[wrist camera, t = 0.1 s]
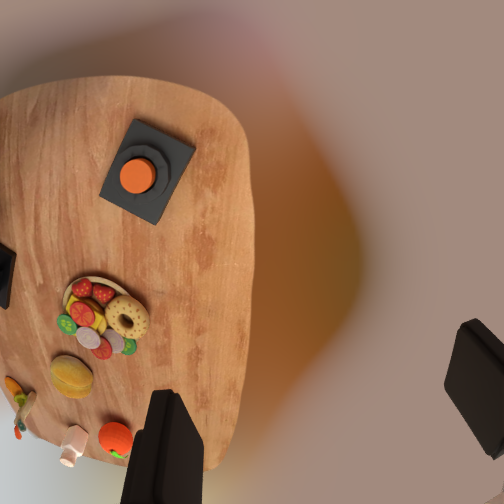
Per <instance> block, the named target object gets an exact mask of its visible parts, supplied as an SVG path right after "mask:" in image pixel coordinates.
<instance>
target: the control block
mask: <svg viewBox="0 0 504 504" xmlns="http://www.w3.org/2000/svg"><path fill="white" fill-rule="evenodd" d="M195 150H196V148H195V147H193V146H191V145H189V144H187V143H185V142H184V141H182V140H180V139H178V138H176V137H174V136H172V135H170V134H168V133H166V132H164V131H162V130H160V129H158V128H156V127H154V126H152V125H149V124H147V123H145V122H143V121H141V120H139V119H133V121H132V123H131V125H130V127H129V129H128V131H127V133H126V135H125V137H124V139H123V141H122V143H121V146H120V148H119V150H118V152H117V154H116V156H115V159H114V161H113V163H112V165H111V168H110V170H109V172H108V175H107V177H106V179H105V182H104V184H103V187H102V189H101V192H100V194H99V196H100V197H102V198H104V199H106V200H108V201H110V202H111V203H113V204H115V205H117V206H119V207H121V208H123V209H125V210H127V211H128V212H130V213H132V214H134V215H136V216H138V217H140V218H142V219H144V220H146V221H148V222H150V223H151V224H153V225H156V224H157V223H158V222H159V220H160V218H161V216H162V214H163V212H164V210H165V208H166V206H167V204H168V202H169V200H170V198H171V196H172V194H173V192H174V190H175V188H176V186H177V184H178V182H179V180H180V178H181V177H182V175H183V173H184V171H185V169H186V167H187V165H188V163H189V161H190V160H191V158H192V156H193V154H194V152H195ZM138 158H143V159H146V160H148V161H150V162H151V163H152V165H153V166H154V168H155V172H156V177H155V181H154V183H153V184H152V185H151V186H150V187H149V188H148V189H147V190H145V191H143V192H141V193H131V192H129V191H127V190H126V189H125V188H124V187H123V186H122V184H121V181H120V172H121V169H122V167H123V166H124V165H125V164H126V163H127V162H129V161H131V160H134V159H138Z"/></svg>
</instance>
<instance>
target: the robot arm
mask: <svg viewBox="0 0 504 504" xmlns="http://www.w3.org/2000/svg"><path fill="white" fill-rule="evenodd" d="M444 387H445V390H446V392H447V394H448V395H449V397H450V398H451V400H452V401H453V403H454V404H455V406H456V407H457V409H458V410H459V412H460V413H461V415H462V416H463V418H464V419H465V421H466V422H467V424H468V426H469V427H470V429H471V430H472V432H473V434H474V435H475V437H476V438H477V440H478V441H479V443H480V445H481V446H482V448H483V450H484V451H485V453H486V454H487V455H491V457H492V458H493V460H495V459H497V458H498V457H500V456H501V455H503V454H504V344H503V343H502V342H501V341H500V340H499V339H498V338H497V337H496V336H495V335H494V334H493V333H492V332H491V331H490V330H489V329H488V328H487V327H486V326H485V325H484V324H483V323H482V322H481V321H480V320H478V319H476V318H475V319H472V320H469V321H467V322H464V323H462V324H461V326H460V329H458V331H457V335H456V339H455V344H454V348H453V352H452V356H451V360H450V364H449V368H448V371H447V375H446V378H445V382H444ZM203 459H204V445H203V441H202V439H201V437H200V435H199V433H198V431H197V429H196V427H195V425H194V423H193V421H192V419H191V417H190V415H189V413H188V411H187V409H186V407H185V405H184V403H183V401H182V399H181V397H180V395H179V394H178V393H174V392H173V390H171V389H167V390H154V391H153V392H152V395H151V399H150V404H149V408H148V412H147V416H146V421H145V425H144V429H143V430H138V431H137V432H136V435H135V438H134V442H133V446H132V450H131V455H130V459H129V464H128V468H127V473H126V477H125V482H124V487H123V492H122V497H121V502H120V504H202V482H203ZM485 504H504V483H503V488H502V492H501V494H499V495H498V496H496V497H494V498H493V499H491V500H490V501H488V502H486V503H485Z"/></svg>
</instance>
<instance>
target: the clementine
mask: <svg viewBox="0 0 504 504" xmlns="http://www.w3.org/2000/svg"><path fill="white" fill-rule="evenodd" d="M98 437H99V443H100V444H101V446H102V448H103V449H104V450H105V451H106V452H108V453H110V454H112V455H113V456H115V457H118V458H123V457H121V456H120V455H123V454H125V453H127V452H128V451H129V450H130V449H131V447H132V445H133V437H132V434H131V432H130V431H129V429H128V428H127V427H126V426H124V425H123V424H121V423H117V422H110V423H107V424H105V425H104V426H103V427H101V429H100V431H99V435H98ZM126 457H127V456H126ZM126 457H125V458H126Z"/></svg>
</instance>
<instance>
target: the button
mask: <svg viewBox="0 0 504 504" xmlns="http://www.w3.org/2000/svg"><path fill="white" fill-rule="evenodd" d="M155 177H156V172H155V168H154V166H153V165H152V163H151V162H150V161H148V160H146V159H143V158H138V159H134V160H131V161H129V162H127V163H126V164H125V165H124V166H123V167H122V169H121V172H120V181H121V184H122V186H123V187H124V188H125V189H126V190H127V191H129V192H131V193H141V192H143V191H145V190H147V189H148V188H149V187H150V186H151V185H152V184H153V183H154V181H155Z"/></svg>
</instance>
